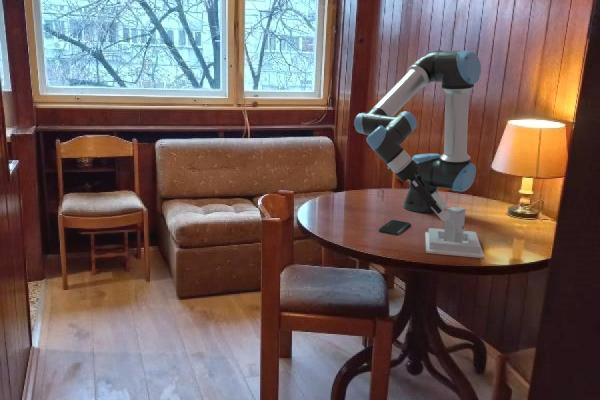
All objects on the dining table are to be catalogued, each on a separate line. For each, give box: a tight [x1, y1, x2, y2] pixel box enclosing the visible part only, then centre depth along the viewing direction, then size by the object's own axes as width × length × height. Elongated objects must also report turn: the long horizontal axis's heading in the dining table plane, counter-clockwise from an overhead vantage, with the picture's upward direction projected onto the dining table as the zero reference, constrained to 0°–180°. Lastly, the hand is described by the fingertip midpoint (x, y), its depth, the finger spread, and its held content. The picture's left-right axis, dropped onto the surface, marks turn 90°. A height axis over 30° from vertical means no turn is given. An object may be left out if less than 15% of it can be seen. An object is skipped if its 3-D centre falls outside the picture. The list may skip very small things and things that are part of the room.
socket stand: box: [424, 227, 485, 259], centre depth 181 cm, size 20×18×3 cm
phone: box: [378, 219, 411, 236], centre depth 199 cm, size 8×1×15 cm
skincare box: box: [443, 206, 466, 242], centre depth 180 cm, size 6×4×12 cm
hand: (445, 213), depth 179 cm, fingers open, 13 cm apart
